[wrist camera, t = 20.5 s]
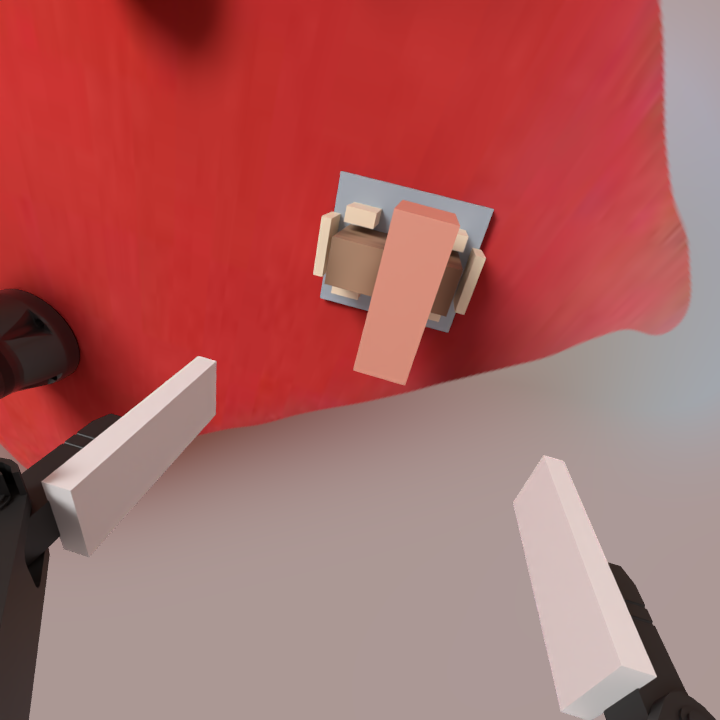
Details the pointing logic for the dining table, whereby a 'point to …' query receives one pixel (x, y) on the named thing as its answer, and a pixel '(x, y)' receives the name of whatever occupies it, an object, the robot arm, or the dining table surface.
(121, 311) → the dining table surface
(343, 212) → the jig
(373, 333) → the salmon pink block
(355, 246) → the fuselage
